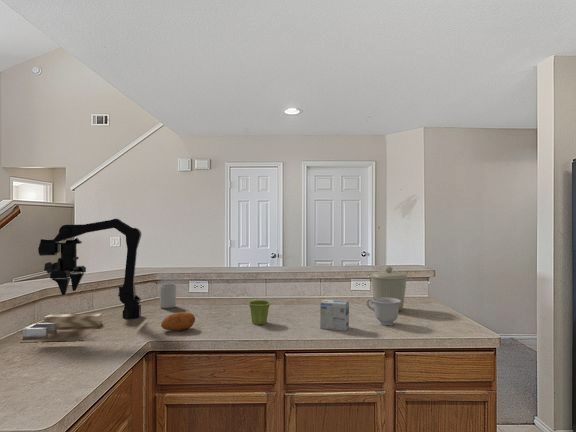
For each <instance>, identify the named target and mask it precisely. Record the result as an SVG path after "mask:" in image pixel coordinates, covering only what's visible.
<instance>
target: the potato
mask: <svg viewBox="0 0 576 432" xmlns="http://www.w3.org/2000/svg"><path fill="white" fill-rule="evenodd" d="M195 323H196V317H195V314H193V313H191V312H186V311H184V312H183V311H180V312H175V313H172V314H169V315H167V316H166V317H164V318H163V320H162V322H161V323H160V324H161V325H160V326H161V328H162V329H163V330H166V331H183V330H189V329H190V328H192V327H193V326H194V324H195Z"/></svg>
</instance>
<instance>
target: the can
mask: <svg viewBox="0 0 576 432" xmlns="http://www.w3.org/2000/svg"><path fill="white" fill-rule="evenodd" d="M159 290H160V292H159V295H160V296H159V306H160V308H161V309H165V310H166V309H174V308H175V307H176V305H177V304H176V303H177V302H176V301H177V285H176V283H175V282H163V283H161V285H160V287H159Z"/></svg>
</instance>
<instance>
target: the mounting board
mask: <svg viewBox="0 0 576 432" xmlns="http://www.w3.org/2000/svg"><path fill="white" fill-rule="evenodd" d="M104 323H105V321H102V324H104ZM100 326H101V325H99V326H90V327H57V331H56V332H48V336H47V337H30V338H23V336H22V337H20V339H21V340H23V339H24V340H25V339H58V338H60V339H61V338H66V339H67V338H84V337H86V336H87V335H88V334H90V333H91V332H93V331H94V330H95V329H97V328H98V327H100ZM66 341H67V340H52V341H48V340H47V341H43V343H61V342H63V343H64V342H65V343H67V342H66ZM84 341H85V340H80V342H84ZM19 343H20V344H28V343H29V344H31V343H37V341H21V342H19Z"/></svg>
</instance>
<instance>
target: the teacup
mask: <svg viewBox="0 0 576 432" xmlns="http://www.w3.org/2000/svg"><path fill="white" fill-rule="evenodd" d="M365 302H366V307H367V308H368V309H369V310H371V311H373V312H374V316H375V318H376V319H377V321H379V324H380V325H382V326H387V325H389V326H393V325H394V322H395V321H397V319H398V317H399V311H400V310H399V304H400V302H401V300H399V299H395V298H388V297H378V298H373V297H372V298H371V297H368V298H367V299H366V301H365ZM369 302H371V304H372V305H373V307H372V306H371V305H370V303H369ZM398 310H399V311H398Z"/></svg>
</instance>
